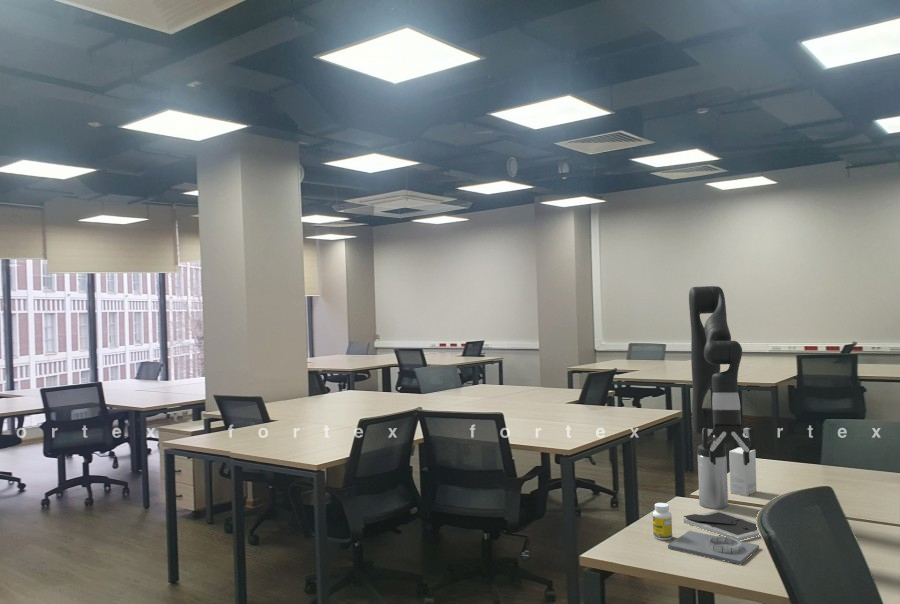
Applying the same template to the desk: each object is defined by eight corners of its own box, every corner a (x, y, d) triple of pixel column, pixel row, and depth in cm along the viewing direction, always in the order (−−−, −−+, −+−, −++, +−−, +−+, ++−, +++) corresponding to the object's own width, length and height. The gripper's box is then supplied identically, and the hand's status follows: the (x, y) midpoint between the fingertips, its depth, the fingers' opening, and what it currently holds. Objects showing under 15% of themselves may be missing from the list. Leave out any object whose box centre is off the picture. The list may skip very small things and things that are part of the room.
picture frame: (683, 525, 210) (738, 545, 191) (683, 516, 210) (738, 535, 191) (719, 516, 217) (775, 535, 198) (718, 507, 217) (774, 525, 198)
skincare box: (740, 488, 246) (739, 446, 246) (758, 492, 241) (756, 449, 241) (729, 493, 240) (727, 450, 240) (747, 496, 235) (745, 453, 235)
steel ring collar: (713, 539, 192) (713, 534, 192) (746, 546, 186) (745, 540, 186) (701, 548, 185) (701, 542, 185) (734, 555, 179) (734, 550, 179)
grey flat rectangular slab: (689, 533, 200) (689, 530, 200) (759, 548, 186) (759, 545, 186) (668, 548, 188) (668, 544, 188) (740, 565, 175) (740, 561, 175)
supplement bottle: (649, 536, 199) (648, 503, 199) (664, 533, 201) (663, 501, 201) (661, 541, 194) (660, 508, 194) (676, 538, 196) (675, 505, 196)
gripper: (749, 408, 196) (753, 464, 194) (699, 408, 200) (702, 463, 198) (754, 408, 189) (758, 466, 187) (702, 408, 193) (705, 465, 190)
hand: (729, 464), depth 192 cm, fingers open, 8 cm apart
